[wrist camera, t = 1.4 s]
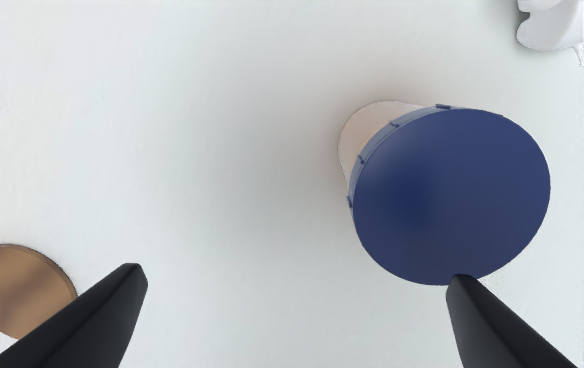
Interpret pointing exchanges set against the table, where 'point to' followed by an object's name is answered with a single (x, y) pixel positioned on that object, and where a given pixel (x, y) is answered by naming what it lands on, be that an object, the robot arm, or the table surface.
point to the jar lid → (448, 193)
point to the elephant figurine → (552, 25)
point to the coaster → (29, 290)
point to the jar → (367, 129)
